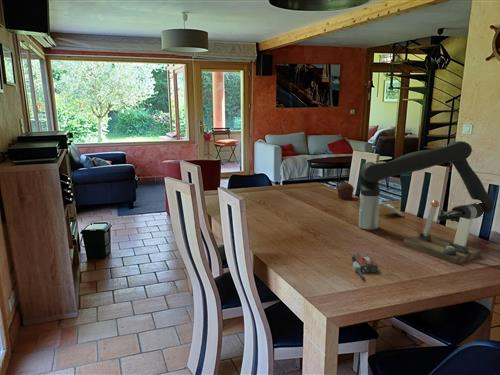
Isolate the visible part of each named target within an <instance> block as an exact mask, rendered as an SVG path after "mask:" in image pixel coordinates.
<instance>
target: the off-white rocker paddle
mask: <svg viewBox="0 0 500 375" xmlns="http://www.w3.org/2000/svg"><path fill="white" fill-rule="evenodd" d="M472 222H473V219H471V220H470V219H466V218H461V217H460V220H459V222H458V225H457V228H456V233H455V236H454V240H453V242H454V244H453V246H456V247H459V248H462V249H463V248H464V247H465V246H467V241H468V238H469V233H470V231H471V226H472Z"/></svg>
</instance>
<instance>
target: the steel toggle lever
mask: <svg viewBox="0 0 500 375" xmlns="http://www.w3.org/2000/svg"><path fill="white" fill-rule="evenodd" d="M430 204H431V206H430V210H429V214H428V217H427V219H426V222H425V226H424V229H423V232H422V233H423V236H425V237H426V235H428V234H429V233H430V230H431V227H432V224H433V222H434V217H435V215H436V212H437V208H438V207H439V205H440V202H439V201H438V200H435V199H434V200H432V201H431V202H430Z"/></svg>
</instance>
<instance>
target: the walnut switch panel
mask: <svg viewBox="0 0 500 375" xmlns="http://www.w3.org/2000/svg"><path fill="white" fill-rule="evenodd" d="M453 244H454V241H451V240H448V239H445V238H441V237H439V236H436V235H434V234H433V235H432V234H428V235H426V237H425V236H423V232H419V235H417V236H415V237H414V236H413V237H410V238H405V239H403V246H405V247H408V248H410V249H413V250H416V251H418V252H422V253H424V254H427V255H430V256H433V257H435V258H438V259H440V260H442V261H443V260H444V261H446V262H449V263H452V264H455V265H457V264H461V263H463V262H467V261H470V260H471V261H472V260H473V259H477V258H481V256H482V250H481V249H477V248H473V247H471V246H467V245H466V246H465V247H464V248H463V249H462V248H459V247H456V246H453Z"/></svg>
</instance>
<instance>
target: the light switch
mask: <svg viewBox="0 0 500 375" xmlns="http://www.w3.org/2000/svg"><path fill="white" fill-rule="evenodd" d="M380 205H381V207H384V208H385V209H388V210H389V211H391V212H393V213H395V214H396V215H399V216H400V217H402V218H403V217H404V214H403V213H402V212H400V211H399V210H397V209H396V208H395V207H394V206H392V205H391V204H386V203H385V202H383V201H381V200H379V206H380Z"/></svg>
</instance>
